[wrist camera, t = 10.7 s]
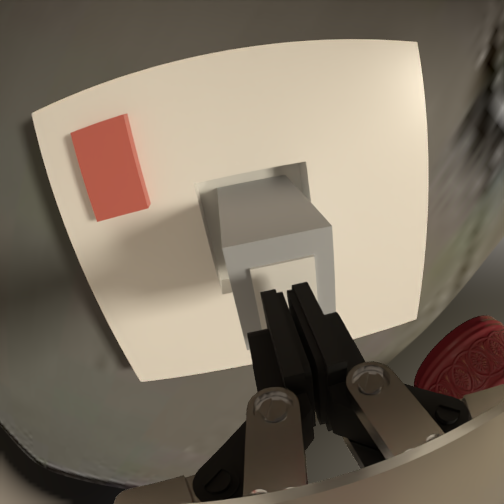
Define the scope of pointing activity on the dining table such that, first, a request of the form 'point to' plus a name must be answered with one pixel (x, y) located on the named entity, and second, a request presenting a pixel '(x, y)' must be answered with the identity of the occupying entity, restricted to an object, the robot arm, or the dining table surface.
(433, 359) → the canister
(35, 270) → the dining table surface
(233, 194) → the plug
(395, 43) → the switch plate
